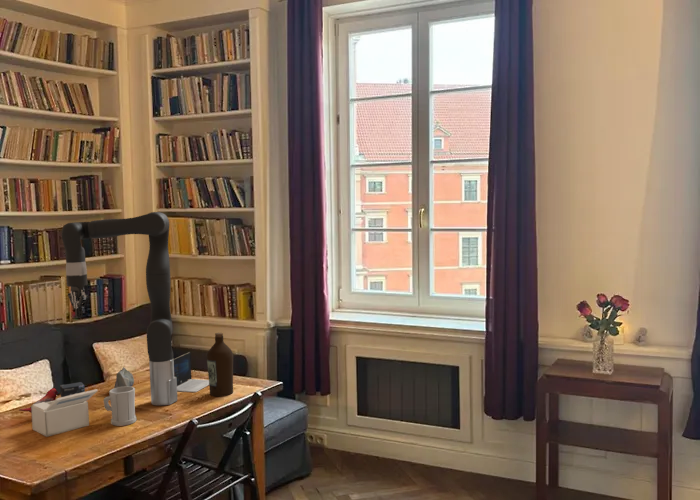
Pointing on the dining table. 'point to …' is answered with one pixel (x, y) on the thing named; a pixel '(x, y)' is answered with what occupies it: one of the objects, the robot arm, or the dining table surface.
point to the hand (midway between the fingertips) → (79, 317)
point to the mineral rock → (124, 379)
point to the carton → (59, 418)
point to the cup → (121, 405)
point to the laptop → (186, 375)
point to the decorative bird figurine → (45, 398)
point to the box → (72, 389)
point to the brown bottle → (220, 368)
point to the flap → (72, 399)
